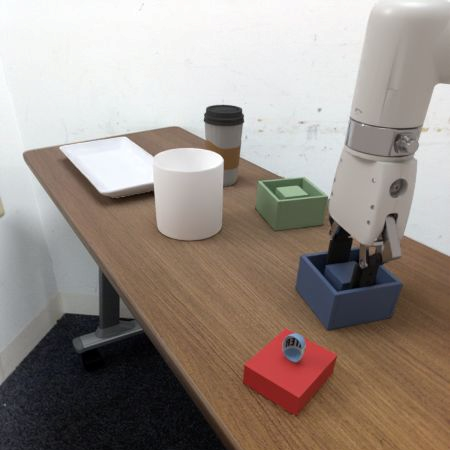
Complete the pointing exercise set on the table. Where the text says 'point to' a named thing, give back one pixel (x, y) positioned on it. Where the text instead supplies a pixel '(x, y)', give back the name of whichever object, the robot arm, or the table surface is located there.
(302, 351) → the red rectangular block
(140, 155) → the tray
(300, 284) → the slate bin
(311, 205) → the sage bin
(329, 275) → the slate block
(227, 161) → the coffee cup
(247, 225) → the table surface
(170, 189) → the cup
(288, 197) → the sage block
